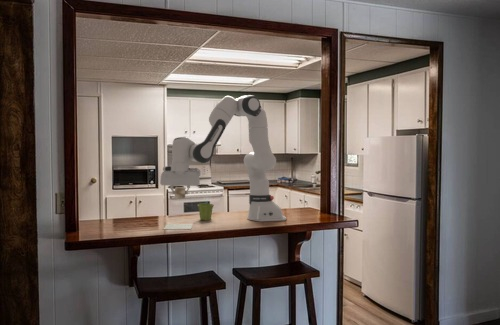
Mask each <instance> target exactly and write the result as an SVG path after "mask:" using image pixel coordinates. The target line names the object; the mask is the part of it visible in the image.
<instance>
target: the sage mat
mask: <svg viewBox="0 0 500 325" xmlns="http://www.w3.org/2000/svg"><path fill="white" fill-rule="evenodd" d="M193 226H194V224H193V223H167V224H166V225H165V226H164V227H163V230H192V228H193Z"/></svg>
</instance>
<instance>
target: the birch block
mask: <svg viewBox="0 0 500 325" xmlns="http://www.w3.org/2000/svg"><path fill="white" fill-rule="evenodd" d="M174 191H175V194H174V198H175V199H186V194H185V191H186V186H183V187H182V186H180V187H179V186H178V187H177V186H176V187H175V188H174Z"/></svg>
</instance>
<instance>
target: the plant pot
mask: <svg viewBox="0 0 500 325" xmlns="http://www.w3.org/2000/svg"><path fill="white" fill-rule="evenodd" d="M197 206H198V213H199V220H200V221H211V220H212V215H213V208H214V206H215V205H214V204H213V203H199V204H197Z"/></svg>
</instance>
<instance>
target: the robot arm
mask: <svg viewBox="0 0 500 325" xmlns="http://www.w3.org/2000/svg"><path fill="white" fill-rule="evenodd" d="M234 116H235V117H246V118H247V122H248V142H249V143H250V145H251V147H252V150H253V151H251V152H248V153H246V154H245V156H244V158H243V165H244V166H245V167H246V168H245V169H246V170H247V174H248V179H249V196H248V203H249V209H248V215H247V218H246V219H247V220H250V221H256V222H278V221H280V222H281V221H286V220H287V217H286V215H283V210H282V208H281V207H280V205H278V204H277V203H275V202H274V201H273V200H274V199H275V197H274V195H272V194H270V181H269V179H268V176H267V175H266V172H268V171H270V170H273V169H274V168H275V167H276V165H277V157H276V156H275V155H274V154H273V152H272V148H271V146H270V145H271V144H270V141H269V129H268V128H269V126H268V117H267V114H266V111H265V110H264V109H262V105H261V101H260V99H259V98H258V97H257V96H255V95H253V94H252V95H251V94H248V95H241V96H240V97H238V98H235V97H233V96H230V95H226V96H224V97H223V98H221V99H220V100H219V102H217V104H216V105H215V107H214V108H213V109H212V110H211V113H210V114H209V117H208V122H209V125H210V130H209V132H208V133H207V135H206V137H205V139H204V140H203V141H202V142H200V143H197V142H196V141H194V140H192V139H190V138H189V137H188V136H177V137H175V138H174V139H173V140H172V148H171V156H172V160H171V164H168V165H166V166H163V168H162V173H161V175H160V180H159V183H160V185H161V186H169V189H170V190H171V194H172V195H175V189H174V187H175V186H176V187H177V186H178V187H179V186H180V187H182V186H183V187H186V188H187V189H186V190H185V195H188V194H189V190H190V188H191V187H192V186H193V187H198V186H199V185H200V184H201V183H200V180H201V179H200V176H201V170H200V169H199V168H197V167H195V168H194V167H190V161H192V162H195V163H197V162H198V163H201V164H205V163H208V162H210V161H211V160H212V158H213V156H214V152H215V148H216V145H217V144H218V142H219V140H220V139H221V137H222V135H223V134H224V132H225V130H226V128H227V126H228V124H229V123H231V121H232V118H234Z"/></svg>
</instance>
